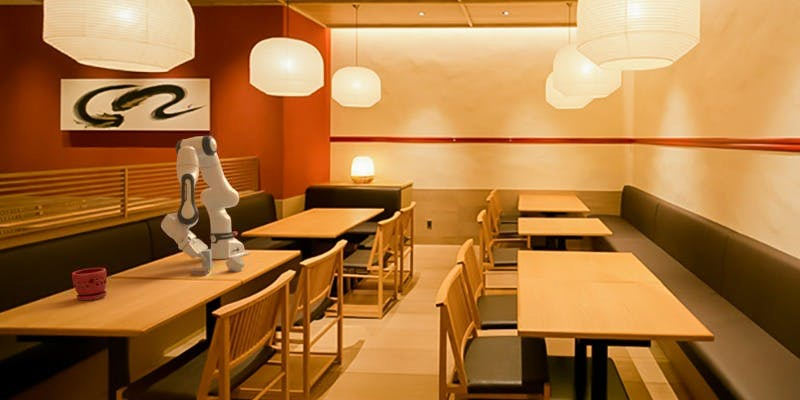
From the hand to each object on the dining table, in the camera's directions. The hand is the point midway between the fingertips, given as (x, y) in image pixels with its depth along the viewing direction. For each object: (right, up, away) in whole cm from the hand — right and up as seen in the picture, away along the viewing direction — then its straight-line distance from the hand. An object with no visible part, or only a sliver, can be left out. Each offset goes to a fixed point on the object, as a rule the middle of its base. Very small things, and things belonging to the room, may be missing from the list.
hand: (208, 259), depth 336 cm
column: (-1, -5, +1) cm, 5 cm away
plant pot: (-33, -12, -55) cm, 66 cm away
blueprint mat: (+1, -7, -12) cm, 14 cm away
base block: (0, -6, -13) cm, 15 cm away
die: (+15, -6, -5) cm, 17 cm away
